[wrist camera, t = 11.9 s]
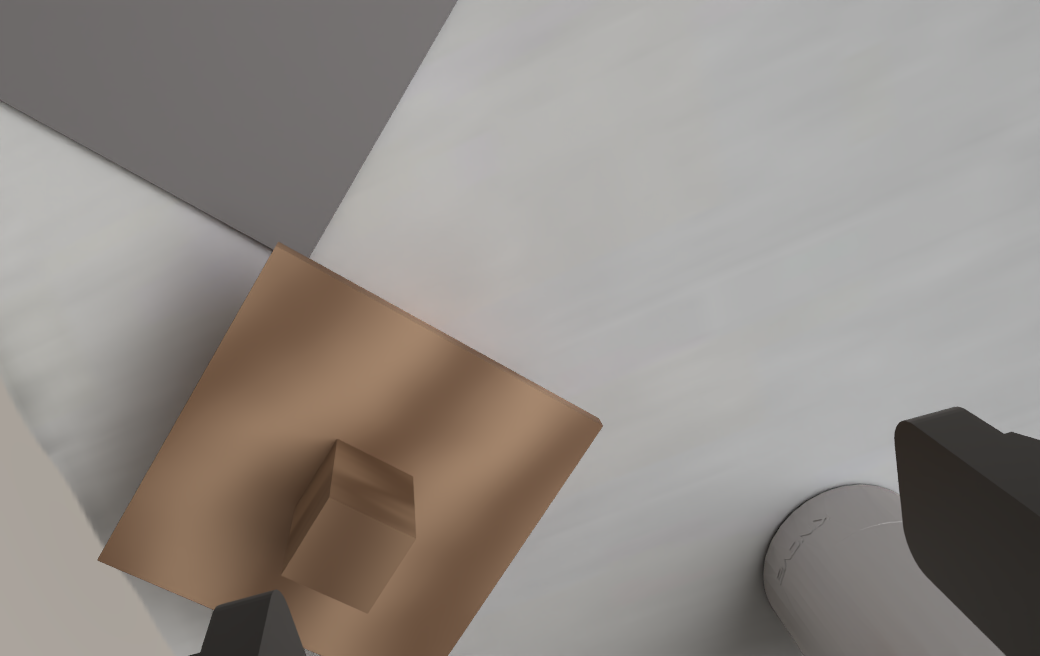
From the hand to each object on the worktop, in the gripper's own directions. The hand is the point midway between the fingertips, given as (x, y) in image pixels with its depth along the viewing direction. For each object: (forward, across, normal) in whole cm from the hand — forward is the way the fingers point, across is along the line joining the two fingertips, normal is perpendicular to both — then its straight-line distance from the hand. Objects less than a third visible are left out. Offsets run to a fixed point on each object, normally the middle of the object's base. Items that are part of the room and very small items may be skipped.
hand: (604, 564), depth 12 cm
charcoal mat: (+30, +7, -10) cm, 32 cm away
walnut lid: (+25, +7, +10) cm, 28 cm away
